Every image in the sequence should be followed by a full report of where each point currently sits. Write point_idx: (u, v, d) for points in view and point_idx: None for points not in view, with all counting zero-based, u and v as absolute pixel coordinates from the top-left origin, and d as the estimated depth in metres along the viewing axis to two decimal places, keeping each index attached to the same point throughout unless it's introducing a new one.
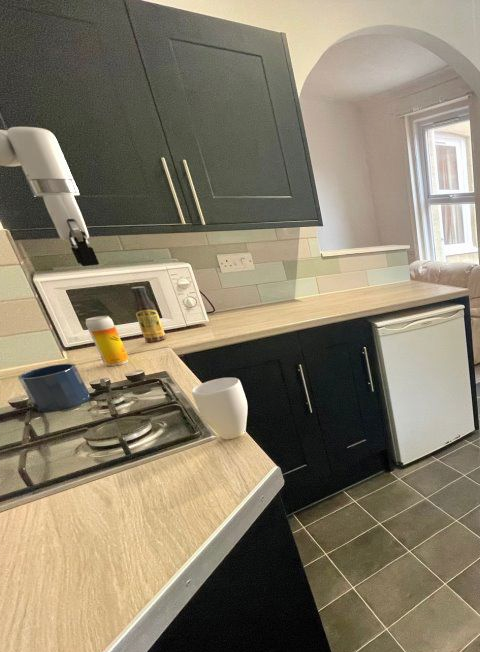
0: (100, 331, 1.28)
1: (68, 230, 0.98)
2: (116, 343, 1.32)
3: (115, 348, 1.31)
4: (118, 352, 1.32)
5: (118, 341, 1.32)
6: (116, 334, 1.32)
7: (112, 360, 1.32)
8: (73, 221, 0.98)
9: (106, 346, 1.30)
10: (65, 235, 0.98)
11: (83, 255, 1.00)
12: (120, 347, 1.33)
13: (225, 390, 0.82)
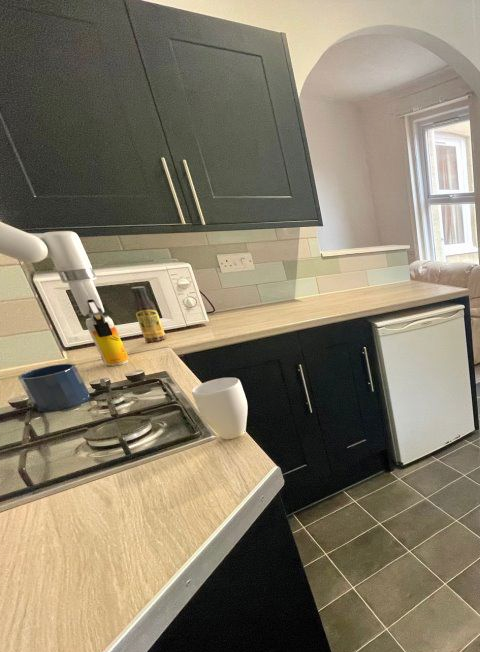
0: None
1: (88, 308, 1.23)
2: (116, 343, 1.32)
3: (115, 348, 1.31)
4: (118, 352, 1.32)
5: (118, 341, 1.32)
6: (116, 334, 1.32)
7: (112, 360, 1.32)
8: (93, 303, 1.24)
9: (106, 346, 1.30)
10: (86, 312, 1.23)
11: (100, 329, 1.27)
12: (120, 346, 1.33)
13: (225, 390, 0.82)
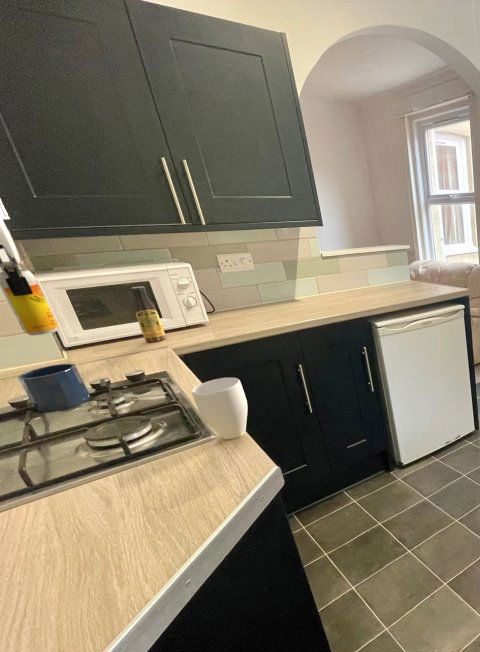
0: None
1: None
2: (39, 305, 1.02)
3: (38, 312, 1.02)
4: (42, 317, 1.03)
5: (42, 303, 1.03)
6: (39, 294, 1.02)
7: (34, 327, 1.02)
8: (2, 249, 0.94)
9: (25, 309, 1.00)
10: None
11: (15, 285, 0.97)
12: (45, 310, 1.03)
13: (225, 390, 0.82)
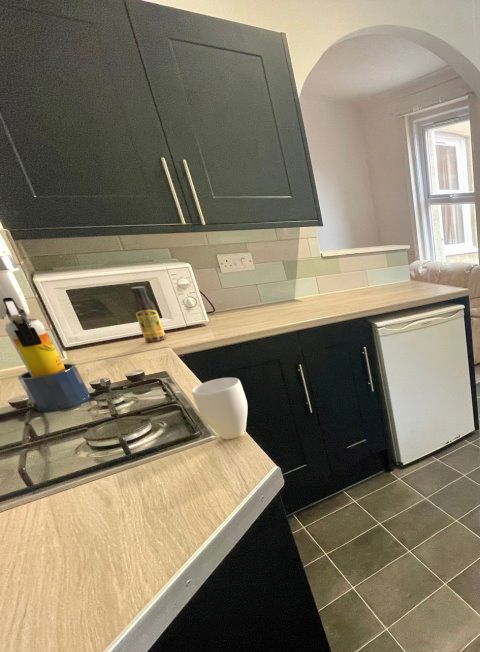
0: None
1: (5, 309, 0.93)
2: (48, 354, 1.01)
3: (47, 361, 1.01)
4: (51, 366, 1.02)
5: (51, 351, 1.02)
6: (48, 342, 1.02)
7: None
8: (11, 302, 0.94)
9: (34, 359, 1.00)
10: (1, 315, 0.93)
11: (24, 336, 0.97)
12: (54, 359, 1.03)
13: (225, 390, 0.82)
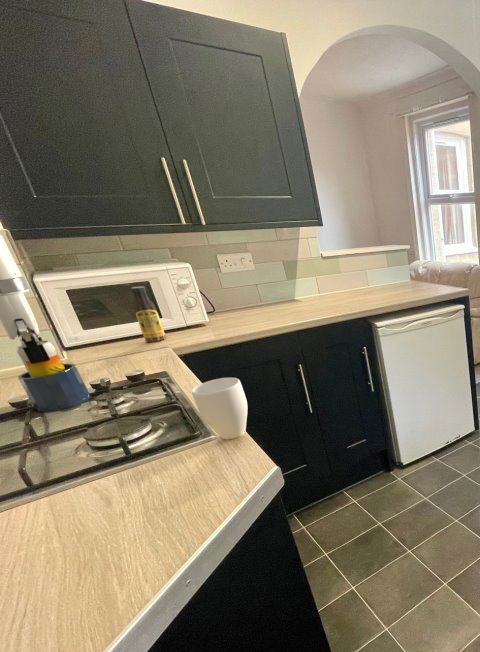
0: None
1: (16, 330, 0.95)
2: None
3: None
4: None
5: None
6: (59, 364, 1.04)
7: None
8: (21, 321, 0.95)
9: None
10: (12, 335, 0.95)
11: (32, 353, 0.97)
12: None
13: (225, 390, 0.82)
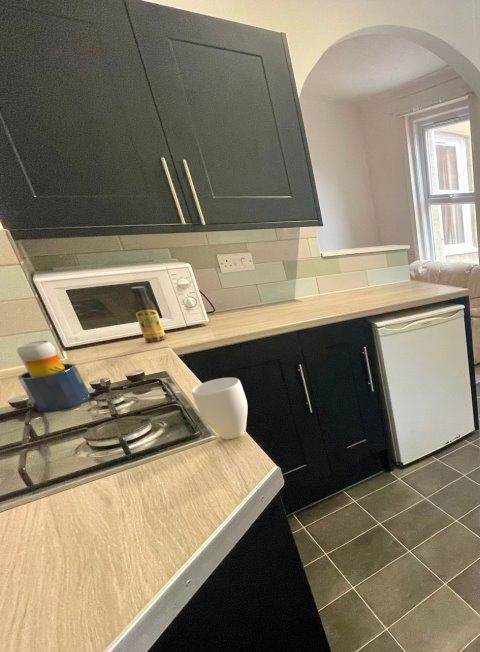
0: (37, 361, 1.00)
1: None
2: None
3: None
4: None
5: None
6: (59, 364, 1.04)
7: None
8: None
9: None
10: None
11: None
12: None
13: (225, 390, 0.82)
